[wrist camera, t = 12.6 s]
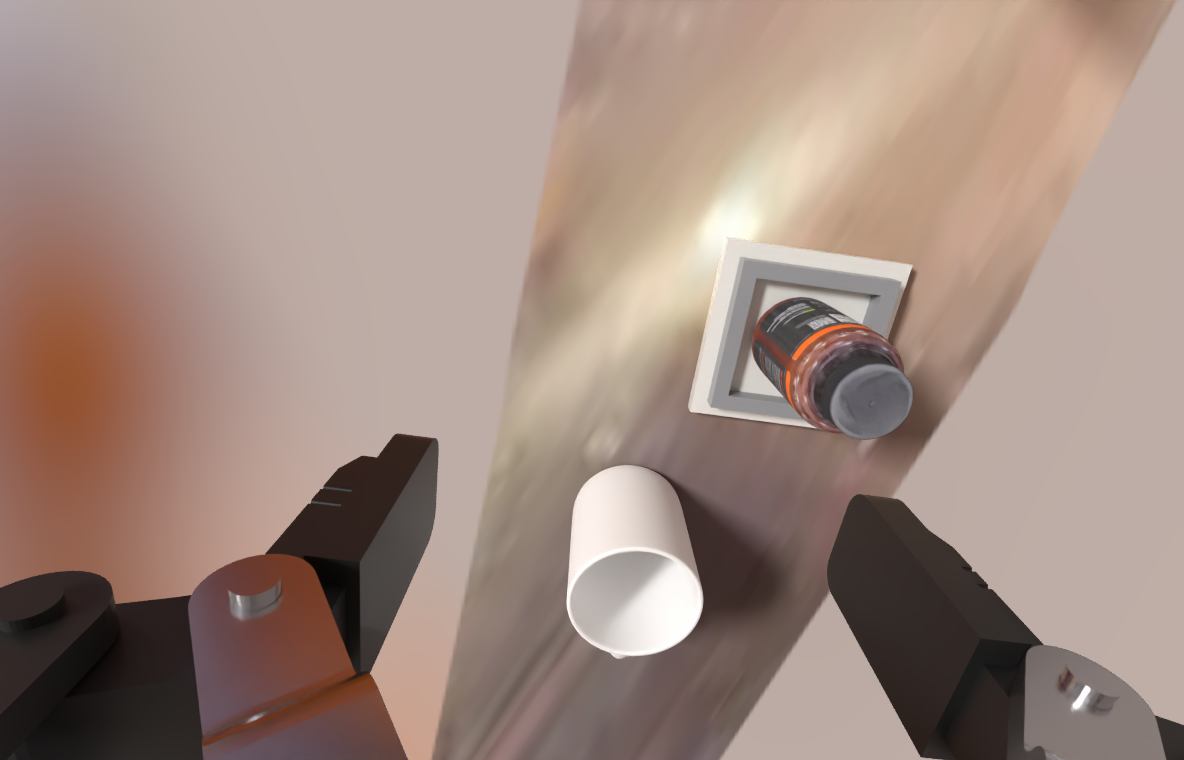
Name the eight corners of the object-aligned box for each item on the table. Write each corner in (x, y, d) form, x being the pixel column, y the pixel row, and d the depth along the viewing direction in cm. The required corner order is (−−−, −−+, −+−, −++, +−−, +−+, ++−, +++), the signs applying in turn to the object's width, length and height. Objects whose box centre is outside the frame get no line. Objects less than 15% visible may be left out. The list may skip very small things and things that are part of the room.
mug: (661, 594, 46) (678, 706, 37) (562, 583, 46) (553, 693, 36) (689, 467, 42) (716, 556, 33) (580, 454, 42) (575, 540, 32)
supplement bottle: (791, 396, 39) (864, 481, 28) (730, 343, 38) (782, 412, 27) (857, 332, 37) (961, 397, 27) (796, 275, 36) (879, 319, 25)
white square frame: (724, 236, 36) (732, 240, 34) (904, 262, 37) (922, 268, 35) (688, 406, 40) (692, 418, 38) (849, 427, 41) (863, 441, 39)
